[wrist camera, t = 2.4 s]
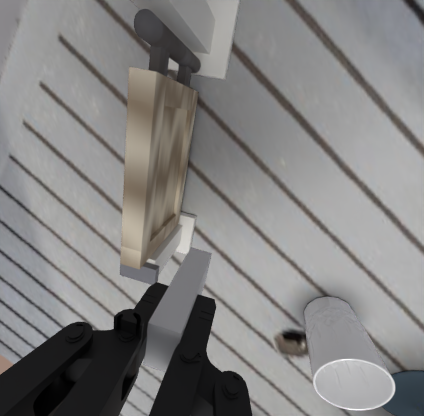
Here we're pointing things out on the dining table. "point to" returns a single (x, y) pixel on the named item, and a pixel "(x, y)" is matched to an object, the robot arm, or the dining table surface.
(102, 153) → the dining table surface
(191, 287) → the robot arm
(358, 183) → the dining table surface
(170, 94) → the gate
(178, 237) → the latch post
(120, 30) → the dining table surface
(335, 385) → the white cup
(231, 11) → the hinge post
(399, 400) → the cocktail glass
